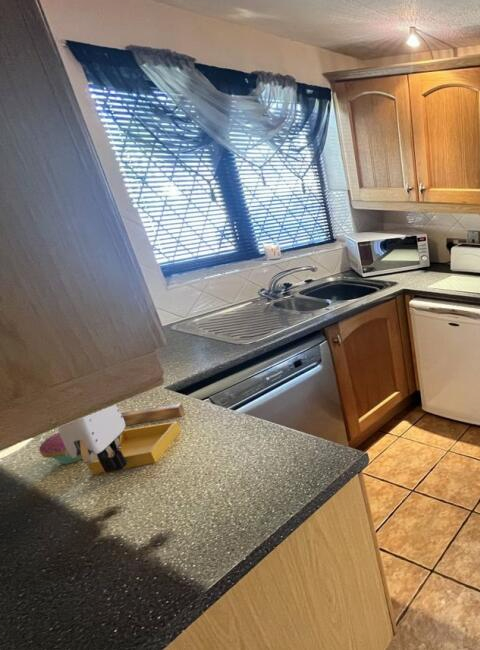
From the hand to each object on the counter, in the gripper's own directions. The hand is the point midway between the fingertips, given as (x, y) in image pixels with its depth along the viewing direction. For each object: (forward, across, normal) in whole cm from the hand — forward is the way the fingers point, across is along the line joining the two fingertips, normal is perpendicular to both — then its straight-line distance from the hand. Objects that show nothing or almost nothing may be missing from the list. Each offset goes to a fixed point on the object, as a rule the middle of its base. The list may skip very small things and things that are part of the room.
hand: (116, 468), depth 85 cm
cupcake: (+2, -10, -14) cm, 17 cm away
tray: (+2, -8, 0) cm, 8 cm away
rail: (+2, -22, -4) cm, 22 cm away
